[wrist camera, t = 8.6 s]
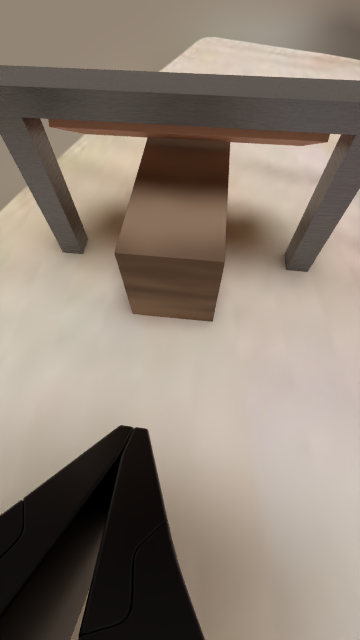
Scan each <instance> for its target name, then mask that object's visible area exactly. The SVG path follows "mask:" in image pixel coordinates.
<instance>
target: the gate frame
mask: <svg viewBox="0 0 360 640" xmlns="http://www.w3.org/2000/svg"><path fill="white" fill-rule="evenodd" d="M40 118H44V119H63V120H82V121H101V122H120V123H139V124H157V125H176V126H195V127H214V128H233V129H252V130H271V131H290V132H309V133H328V134H341V136H340V138H339V140H338V142H337V145H336V147H335V149H334V151H333V153H332V155H331V157H330V159H329V161H328V164H327V166H326V168H325V170H324V172H323V174H322V176H321V178H320V181H319V183H318V185H317V187H316V189H315V191H314V193H313V195H312V197H311V200H310V202H309V204H308V206H307V208H306V210H305V212H304V214H303V217H302V219H301V221H300V223H299V225H298V227H297V229H296V231H295V233H294V236H293V238H292V240H291V242H290V244H289V246H288V248H287V250H286V253H285V260H286V270H297V271H308V270H309V268H310V267H311V265H312V264H313V262H314V260H315V259H316V257H317V256H318V254H319V252H320V251H321V249H322V248H323V246H324V244H325V243H326V241H327V240H328V238H329V236H330V235H331V233H332V232H333V230H334V228H335V227H336V225H337V224H338V222H339V220H340V219H341V217H342V216H343V214H344V212H345V211H346V209H347V208H348V206H349V205H350V203H351V201H352V200H353V198H354V197H355V195H356V193H357V192H358V190H359V189H360V81H356V80H332V79H309V78H286V77H262V76H239V75H216V74H193V73H169V72H146V71H122V70H99V69H76V68H52V67H30V66H6V65H5V66H4V65H0V134H1V136H2V138H3V140H4V142H5V144H6V146H7V148H8V149H9V151H10V153H11V155H12V157H13V159H14V161H15V163H16V164H17V166H18V168H19V170H20V172H21V174H22V176H23V178H24V179H25V181H26V183H27V185H28V187H29V189H30V191H31V193H32V194H33V196H34V198H35V200H36V202H37V204H38V206H39V208H40V209H41V211H42V213H43V215H44V217H45V219H46V221H47V223H48V224H49V226H50V228H51V230H52V232H53V234H54V236H55V238H56V239H57V241H58V243H59V245H60V247H61V249H62V251H63V252H68V253H80V254H83V252H84V249H85V246H86V243H87V240H88V238H87V235H86V233H85V230H84V228H83V225H82V223H81V220H80V218H79V215H78V212H77V210H76V207H75V205H74V202H73V200H72V197H71V195H70V192H69V190H68V187H67V185H66V182H65V180H64V177H63V175H62V172H61V170H60V167H59V165H58V162H57V160H56V158H55V155H54V152H53V150H52V147H51V145H50V142H49V140H48V137H47V135H46V132H45V130H44V127H43V125H42V122H41V120H40Z"/></svg>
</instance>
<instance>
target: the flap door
mask: <svg viewBox="0 0 360 640" xmlns="http://www.w3.org/2000/svg"><path fill="white" fill-rule="evenodd" d="M48 120H49V126H50V127H53V128H58V129H63V130H68V131H72V132H77V133H82V134H95V135H113V136H131V137H149V138H167V139H185V140H203V141H221V142H239V143H257V144H275V145H293V146H304V145H311V144H317V143H324V142H328V139H329V135H330V134H328V133H309V132H290V131H271V130H252V129H233V128H214V127H195V126H176V125H157V124H139V123H120V122H101V121H82V120H63V119H48Z"/></svg>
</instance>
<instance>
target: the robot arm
mask: <svg viewBox="0 0 360 640" xmlns="http://www.w3.org/2000/svg"><path fill="white" fill-rule="evenodd" d="M90 585H91V586H90ZM89 588H90V590H89ZM88 590H89V594H88V598H87V602H86V607H85V611H84V615H83V619H82V624H81V628H80V632H79V639H78V640H205V639H204V636H203V633H202V630H201V627H200V625H199V622H198V619H197V616H196V613H195V611H194V608H193V605H192V602H191V599H190V597H189V594H188V591H187V588H186V585H185V582H184V579H183V576H182V573H181V570H180V567H179V564H178V560H177V556H176V553H175V549H174V545H173V541H172V537H171V532H170V528H169V524H168V519H167V515H166V510H165V505H164V501H163V496H162V492H161V487H160V483H159V478H158V473H157V469H156V464H155V460H154V455H153V450H152V446H151V441H150V437H149V432H148V430H147V429H145V428H138V427H136V428H133V427H130V426H123V425H121V426H119V427H117V428H116V429H115V430H113V431H112V432H111V433H109V434H108V435H107V436H105V437H104V438H103V439H101V440H100V441H99V442H97V443H96V444H95V445H93V446H92V447H91V448H89V449H88V450H87V451H86V452H84V453H83V454H82V455H80V456H79V457H78V458H76V459H75V460H74V461H72V462H71V463H70V464H68V465H67V466H66V467H64V468H63V469H62V470H60V471H59V472H58V473H56V474H55V475H54V476H52V477H51V478H50V479H48V480H47V481H46V482H44V483H43V484H42V485H40V486H39V487H38V488H36V489H35V490H34V491H32V492H31V493H30V494H28V495H27V496H26V497H24V499H23V501H22V500H20V501H19V502H18V503H16V504H15V505H14V506H12V507H11V508H10V509H8V510H7V511H6V512H4V513H3V514H1V515H0V640H70V639H71V636H72V633H73V631H74V628H75V625H76V623H77V620H78V617H79V614H80V612H81V609H82V606H83V604H84V601H85V598H86V596H87V593H88Z"/></svg>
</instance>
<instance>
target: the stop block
mask: <svg viewBox="0 0 360 640" xmlns="http://www.w3.org/2000/svg"><path fill="white" fill-rule="evenodd" d="M229 155H230V142H221V141H203V140H185V139H167V138H149V137H148V138H147V142H146V145H145V149H144V152H143V156H142V159H141V163H140V166H139V170H138V173H137V177H136V180H135V183H134V187H133V190H132V194H131V197H130V201H129V204H128V208H127V211H126V215H125V218H124V222H123V225H122V229H121V232H120V235H119V239H118V242H117V246H116V249H115V256H116V260H117V263H118V266H119V269H120V273H121V276H122V279H123V283H124V286H125V289H126V292H127V296H128V299H129V302H130V305H131V309H132V312H133V314H139V315H150V316H160V317H171V318H181V319H192V320H202V321H212V322H213V317H214V312H215V307H216V302H217V297H218V292H219V287H220V282H221V277H222V272H223V267H224V262H225V242H226V220H227V199H228V177H229Z"/></svg>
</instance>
